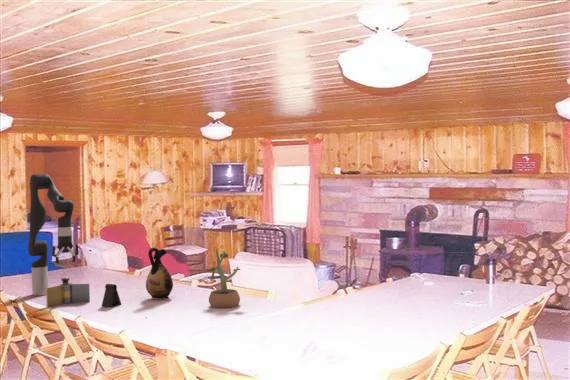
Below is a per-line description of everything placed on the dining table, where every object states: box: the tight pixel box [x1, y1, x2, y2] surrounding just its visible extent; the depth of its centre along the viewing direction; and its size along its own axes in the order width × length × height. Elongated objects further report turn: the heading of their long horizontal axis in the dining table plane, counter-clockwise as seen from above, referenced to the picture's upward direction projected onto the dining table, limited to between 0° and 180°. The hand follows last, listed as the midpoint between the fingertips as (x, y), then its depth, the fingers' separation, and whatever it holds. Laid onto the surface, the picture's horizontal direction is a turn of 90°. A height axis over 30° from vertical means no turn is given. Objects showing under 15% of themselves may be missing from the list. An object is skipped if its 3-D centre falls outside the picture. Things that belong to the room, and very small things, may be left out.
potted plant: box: [205, 249, 242, 309], centre depth 342 cm, size 22×18×30 cm
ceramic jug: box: [145, 247, 174, 300], centre depth 363 cm, size 17×15×30 cm
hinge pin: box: [61, 277, 70, 285], centre depth 358 cm, size 4×4×14 cm
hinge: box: [45, 282, 91, 308], centre depth 356 cm, size 10×23×10 cm, turn 118°
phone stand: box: [101, 283, 122, 309], centre depth 346 cm, size 9×6×12 cm, turn 146°
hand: (65, 263), depth 357 cm, fingers open, 8 cm apart
